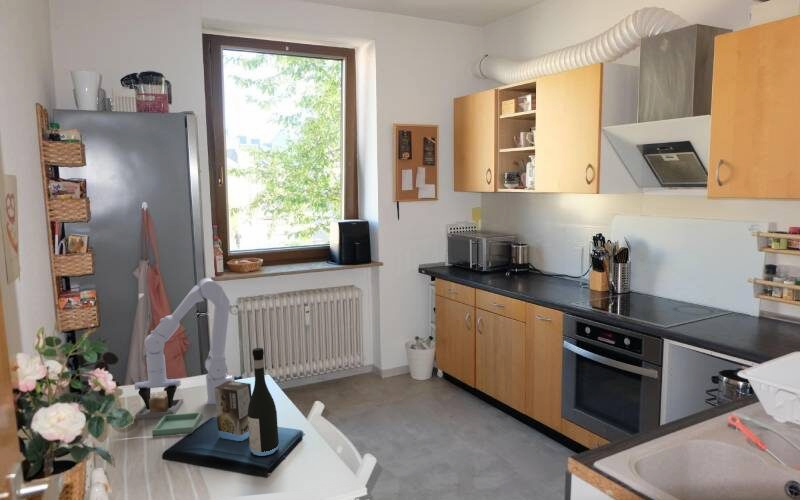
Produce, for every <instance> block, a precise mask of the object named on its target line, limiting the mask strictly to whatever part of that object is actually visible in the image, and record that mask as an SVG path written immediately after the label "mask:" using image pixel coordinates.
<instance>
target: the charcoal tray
mask: <svg viewBox="0 0 800 500" xmlns="http://www.w3.org/2000/svg"><path fill="white" fill-rule="evenodd" d="M183 404H184V398H175V399H174V398H173V405H172V407H171V408H169V409H168V411H167V412H157V413H150V409H149V410H147V407H146V405H145V404H143V406H142V407H141V408H140V409H139V410H138V411H137V412H136V413H135V415H134V419H135V420H145V419H146V420H147V419H148V420H150V419H159V418H160V419H162V418H163V416H164V415H169V414H177V412H178V411H179V409H180V408H181V407H182V405H183Z"/></svg>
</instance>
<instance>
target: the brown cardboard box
mask: <svg viewBox="0 0 800 500" xmlns="http://www.w3.org/2000/svg"><path fill="white" fill-rule="evenodd" d="M149 407H150V413H157V412H167V411H168V409H169V407H168V397H167V393H160V394H159V393H158V394H153V395H152V396H150V399H149Z"/></svg>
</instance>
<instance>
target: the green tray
mask: <svg viewBox="0 0 800 500" xmlns="http://www.w3.org/2000/svg"><path fill="white" fill-rule="evenodd" d="M202 419H203V411H198V412H197V411H196V412H184V413H176V414H169V415H164V416H163V417H162V418H160V420H159V421H158V422H157V424H156V425H155V426H154V427H153V428H152V431H151V432H152V437H153V438H155V437H166V436H177V435H189V433H191V432H192V431H194V432H195V430H196V428H197V427H198V425H199V423H200V421H201V420H202ZM191 434H192V433H191Z"/></svg>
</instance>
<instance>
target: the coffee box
mask: <svg viewBox="0 0 800 500" xmlns="http://www.w3.org/2000/svg"><path fill="white" fill-rule="evenodd" d="M214 391H215V402H216V404H215V411H216V413H215V414H216V422H217V431H218V430H219V431H223V432H228V433H232V434H236V435H243V434H244V433H246V432H248V431H249V427H248V406H249V402H250V399H251V396H252V383H248V382H242V381H235V382H233V381H227V382H225V383H223V384H221V385H219V386H217V387H215V388H214Z"/></svg>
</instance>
